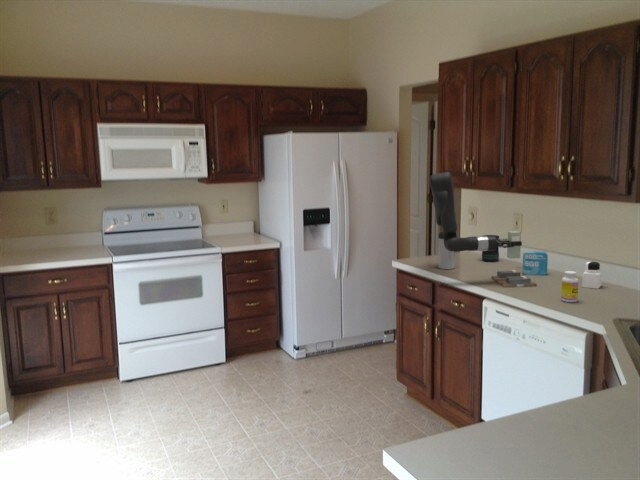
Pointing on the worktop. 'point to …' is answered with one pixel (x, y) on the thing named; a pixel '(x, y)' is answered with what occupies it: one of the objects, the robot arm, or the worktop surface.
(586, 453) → the worktop surface
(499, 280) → the rail board
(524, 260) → the blue product box
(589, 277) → the medicine bottle
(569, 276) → the supplement bottle
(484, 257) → the storage jar
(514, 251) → the block
